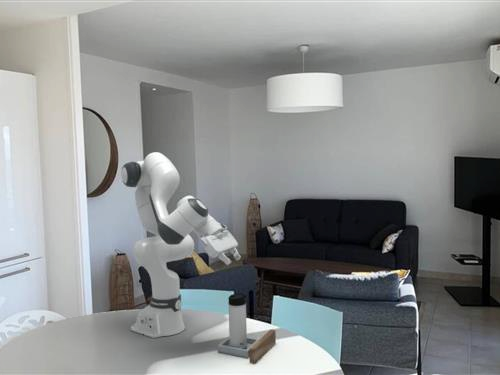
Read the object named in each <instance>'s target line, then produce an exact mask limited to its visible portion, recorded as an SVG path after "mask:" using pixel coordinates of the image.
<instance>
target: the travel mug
mask: <svg viewBox="0 0 500 375" xmlns="http://www.w3.org/2000/svg"><path fill="white" fill-rule="evenodd" d="M246 297H248V296H247V293H244V292H243V293H241V292H239V293H233V294H230V296H228V299H227V300H228V332H229V335H228V337H229V339H230V347H235V348H240V349H245V350H246V349H247V337H248V336H247V335H248V334H247V332H248V331H247V330H248V329H247V303H246V301H247V300H246Z"/></svg>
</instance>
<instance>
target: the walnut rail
mask: <svg viewBox="0 0 500 375" xmlns="http://www.w3.org/2000/svg"><path fill="white" fill-rule="evenodd" d="M276 334H277V333H276V330H275V329H269V330H268V331H267V332H266V333H265V334H263V335H262V337H260V338H258V339H259V340H258V341H257V342H256V343H255V344H254V345H253V346H252V347H250V348H249V354H250V357H249V363H250V364H253V365H255V364H257V363H258V362H259V361H260V359H262V358H263V357H264V356H265V355H266V353H267V352H269V350H271V349H272V348H273V346H275V344H276V341H277V340H276V339H277V338H276V337H277V336H276Z"/></svg>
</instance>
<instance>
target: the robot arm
mask: <svg viewBox="0 0 500 375" xmlns="http://www.w3.org/2000/svg"><path fill="white" fill-rule="evenodd" d="M179 173H180V172H178V170H177V168H176V166H175V165H174V164H173V163H172V161H171V160H170V159H169V158H168V157H167V156H165V155H164V154H163V153H161V152H158V151H155V152H151V153H149V154H147V155H146V157H145V158H144V160H138V161H129V162H126V163H125V164H123V166H122V167H121V172H120V174H121V180H122V183H123V184H124V185H125V186H126V187H128V188H136V189H135V191H134V200H135V206H136V209H137V212H138V216H139V219H140V222H141V226H142V228H143V229H144V230H145V231H146V232H149V233H151V234H154V235H155V236H149V237H145V238H142V239H140V240H137V241H135V243H134V246H133V248H132V255H133V258H134V260H135V262H136V263H137V264H139V265H140V266H142V267H143V268H144V269H145V270H146V271H147V273H148V274H149V278H150V283H151V292H152V294H151V296H150V297H147V298H146V299H147V300H146V301H147V302H149V303H148V305H146V306H145V307H144V308H143V309H142V310H140V311H139V312H138V314H137V316H136V322H135V323H133V324H132V325H131V326H130V331H133V332H134V333H138V334H141V335H143V334H144V336H147V337H150V338H153V339H154V338H160V337H168V336H173V335H177V334H179V333H182V332H183V331H184V330H186V326H185V324H184V322H185V321H184V319H183V314H182V295H181V292H180V291H181V289H180V287H181V286H180V285H181V284H180V277H179V275H178V273H177V272H175V271H174V270H171V269H168V267H167V263H169V262H174V261H179V260H184V259H186V258H188V257H190V256H192V254H193V252H194V250H195V242H194V239H193V238H192V236H191V235H190V233H191V232H194V234H195V235H196V236H197V237H198V238H199V240H200V243H201V244H200V245H201V246H202V248H203V249H204V250H205V252H206V254H207V255H208V256H209V257H210V258H211V259H215V258H217V257H218V258H217V259H219V260H221V261H222V262H224V264H226V265H227V266H228V265H230V264H231V263H232V260H231V259H230V258H229V257H227V256H226V255H225V254H227V253H229V252H230V253H231V255H233V259H235V261H239V260H240V259H241V257H242V256H241V255H240V254H239V252H238V249H237V247H238V246H239V243H238V241H237V240H236V239H235V236H233V234H232V233H231V232H230V231H229V230H227V229H228V227H227V226H226V225H225V224H223V223H220V222H218V221H217V220H216V219H215V218H214V217H213V216H211V215H210V214H209V209H208V208H207V206H206V205H205V203H203V202H202V200H201V199H199V198H196V197H194V196H193V195H186V196H184V197H183V198H181V199H180V200H179V201H178V203H177V204H176V209H174V210H173V211H172V212H171V213H170V214H169V211H168V209H167V206H168V203H169V201H170V199H171V198H172V196H173V195H174V193H175V191H176V190H177V189H178V187H179V185H180V180H181V178H180V174H179Z"/></svg>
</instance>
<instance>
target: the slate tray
mask: <svg viewBox="0 0 500 375" xmlns="http://www.w3.org/2000/svg"><path fill="white" fill-rule="evenodd" d="M259 339H260V338H256V337H249V336H247V349H246V350H245V349H240V348H235V347H230V339H229V336H228V337H226V339H224V340H223V341H221V342H220V343H219V344H218V345H217V354H218V353H219V354H223V355H229V356H232V357H238V358H242V359H243V358H244V359H250V354H249V348H250V347H252V346H253V345H254V344H255V343H256V342H257V341H258V340H259Z"/></svg>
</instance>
